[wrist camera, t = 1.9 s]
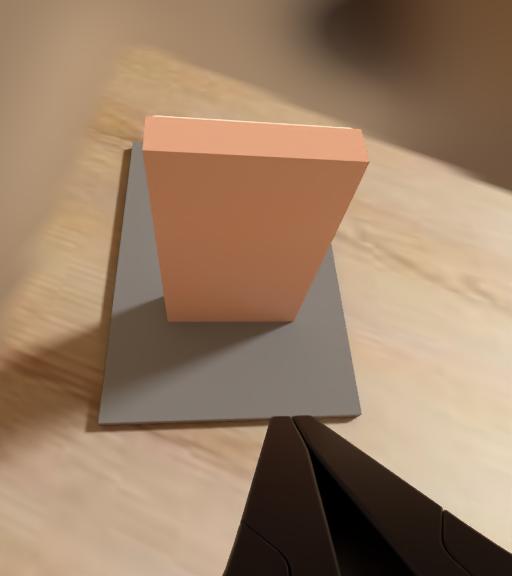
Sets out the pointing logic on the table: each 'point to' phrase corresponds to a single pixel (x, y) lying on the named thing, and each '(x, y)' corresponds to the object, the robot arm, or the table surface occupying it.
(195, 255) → the terracotta tile
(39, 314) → the table surface
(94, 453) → the table surface
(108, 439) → the table surface
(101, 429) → the table surface
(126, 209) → the rubber mat
